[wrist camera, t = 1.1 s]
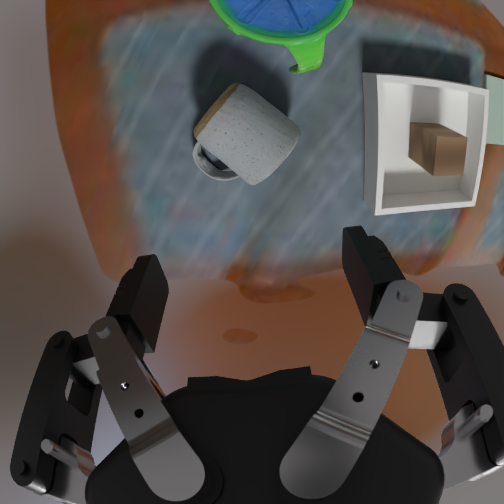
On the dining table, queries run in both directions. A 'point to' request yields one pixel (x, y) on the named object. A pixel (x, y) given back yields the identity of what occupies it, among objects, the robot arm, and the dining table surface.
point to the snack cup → (285, 24)
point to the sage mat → (495, 109)
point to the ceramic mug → (244, 136)
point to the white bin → (397, 141)
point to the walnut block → (437, 149)
